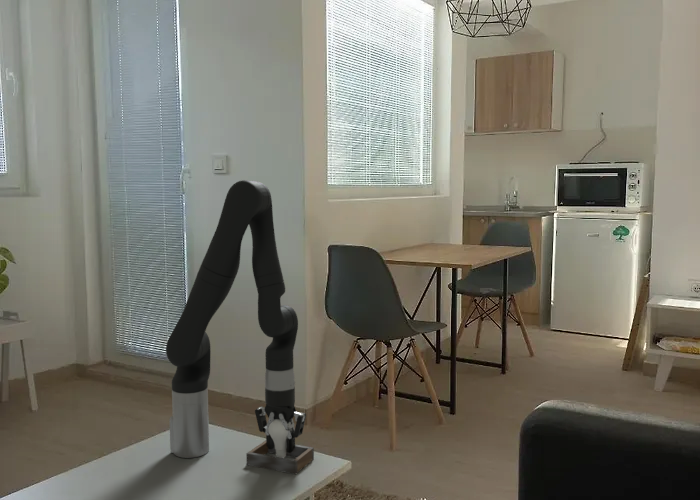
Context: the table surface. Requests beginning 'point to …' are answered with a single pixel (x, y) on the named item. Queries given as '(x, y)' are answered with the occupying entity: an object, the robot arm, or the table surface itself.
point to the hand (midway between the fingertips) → (280, 449)
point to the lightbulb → (279, 437)
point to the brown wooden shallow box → (280, 464)
